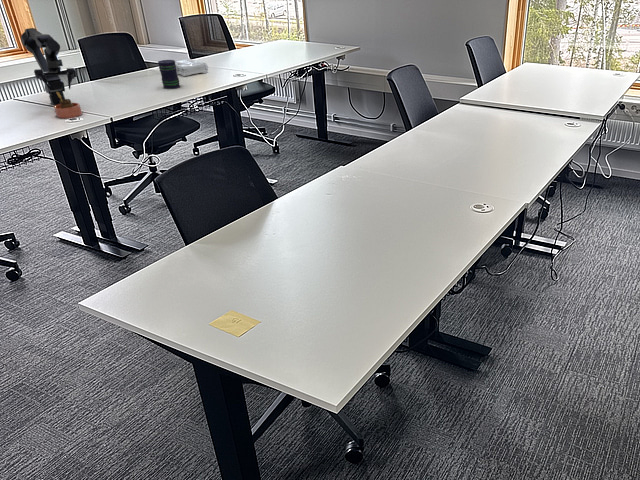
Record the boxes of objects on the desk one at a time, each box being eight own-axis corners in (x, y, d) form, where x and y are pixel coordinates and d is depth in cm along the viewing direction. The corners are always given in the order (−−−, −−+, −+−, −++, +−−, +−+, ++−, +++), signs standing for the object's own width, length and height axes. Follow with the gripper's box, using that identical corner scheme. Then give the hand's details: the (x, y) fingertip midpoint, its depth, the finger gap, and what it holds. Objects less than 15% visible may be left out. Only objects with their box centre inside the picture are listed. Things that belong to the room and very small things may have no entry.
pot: (75, 111, 302) (72, 101, 299) (86, 114, 296) (83, 104, 293) (52, 115, 294) (49, 106, 291) (64, 119, 288) (60, 109, 285)
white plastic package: (189, 66, 399) (187, 55, 395) (209, 72, 383) (207, 60, 379) (163, 70, 388) (160, 59, 384) (183, 77, 372) (181, 64, 367)
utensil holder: (78, 112, 297) (70, 89, 290) (69, 116, 292) (62, 92, 285) (68, 112, 298) (61, 88, 291) (59, 115, 293) (52, 91, 286)
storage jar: (164, 89, 342) (158, 63, 334) (162, 86, 350) (157, 60, 342) (181, 88, 346) (175, 62, 338) (179, 84, 353) (174, 59, 345)
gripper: (28, 53, 282) (36, 84, 283) (70, 52, 290) (78, 82, 290) (32, 62, 292) (40, 93, 293) (73, 61, 300) (80, 90, 301)
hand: (59, 89), depth 294 cm, fingers open, 9 cm apart
